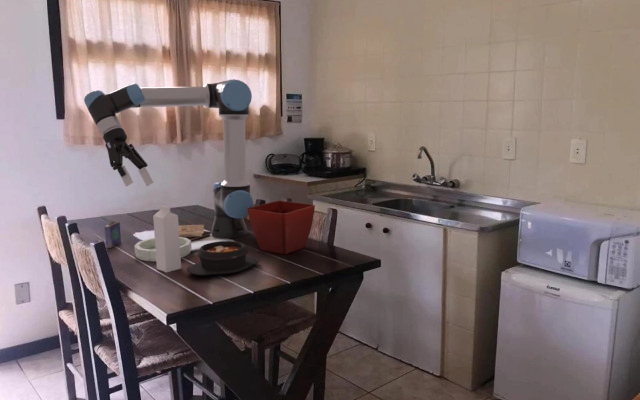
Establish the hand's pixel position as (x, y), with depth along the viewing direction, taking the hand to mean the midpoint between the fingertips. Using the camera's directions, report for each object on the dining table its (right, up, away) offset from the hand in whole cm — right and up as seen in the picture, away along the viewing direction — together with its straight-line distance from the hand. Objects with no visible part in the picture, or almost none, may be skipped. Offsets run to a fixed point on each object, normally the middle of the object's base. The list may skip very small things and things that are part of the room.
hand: (140, 184), depth 185 cm
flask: (-20, -24, +27) cm, 41 cm away
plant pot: (+49, -25, +20) cm, 58 cm away
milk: (+11, -29, -3) cm, 32 cm away
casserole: (+30, -30, -5) cm, 43 cm away
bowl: (+4, -26, +15) cm, 30 cm away
